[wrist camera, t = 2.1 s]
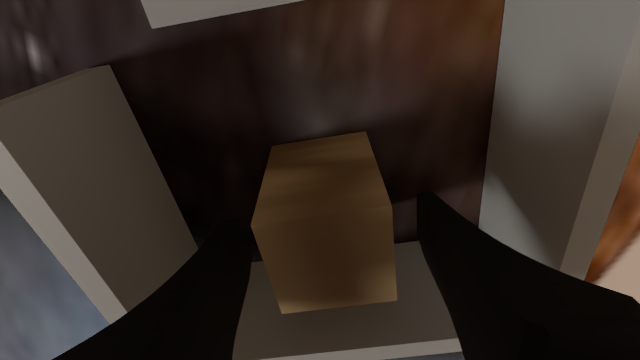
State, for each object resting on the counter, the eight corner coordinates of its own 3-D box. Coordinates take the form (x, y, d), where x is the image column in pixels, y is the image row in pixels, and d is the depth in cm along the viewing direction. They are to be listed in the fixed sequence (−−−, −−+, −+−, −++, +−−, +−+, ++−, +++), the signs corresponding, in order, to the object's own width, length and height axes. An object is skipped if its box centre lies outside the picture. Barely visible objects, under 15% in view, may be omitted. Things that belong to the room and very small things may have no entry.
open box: (197, 281, 20) (157, 382, 15) (86, 68, 13) (-56, 120, 8) (493, 243, 19) (560, 341, 14) (533, -13, 12) (694, -12, 7)
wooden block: (291, 218, 18) (281, 314, 13) (272, 145, 15) (250, 225, 10) (372, 207, 17) (397, 300, 12) (365, 130, 15) (391, 205, 10)
